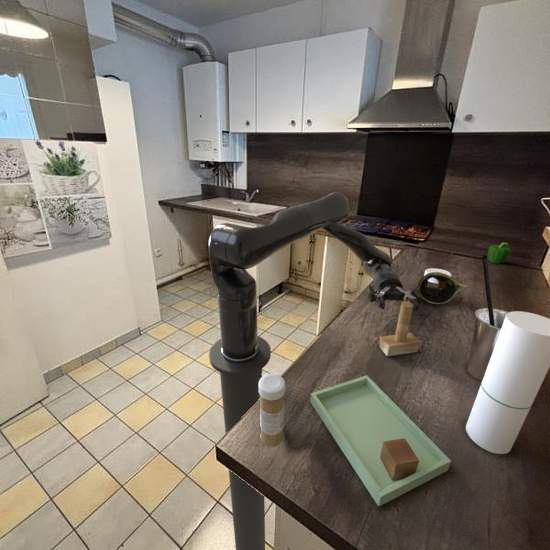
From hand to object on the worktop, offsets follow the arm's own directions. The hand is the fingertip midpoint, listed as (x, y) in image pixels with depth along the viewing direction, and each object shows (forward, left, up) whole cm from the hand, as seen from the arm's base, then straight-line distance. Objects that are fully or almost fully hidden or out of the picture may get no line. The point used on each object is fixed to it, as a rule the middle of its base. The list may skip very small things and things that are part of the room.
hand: (399, 307), depth 80 cm
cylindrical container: (+31, -6, -10) cm, 33 cm away
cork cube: (+30, -27, -9) cm, 41 cm away
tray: (+22, -26, -10) cm, 36 cm away
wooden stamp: (+5, -3, -10) cm, 11 cm away
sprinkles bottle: (+16, -44, -10) cm, 48 cm away
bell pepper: (-31, +92, -10) cm, 98 cm away
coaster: (-26, +47, -10) cm, 55 cm away
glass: (+19, +9, -10) cm, 24 cm away
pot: (-14, +32, -10) cm, 36 cm away
